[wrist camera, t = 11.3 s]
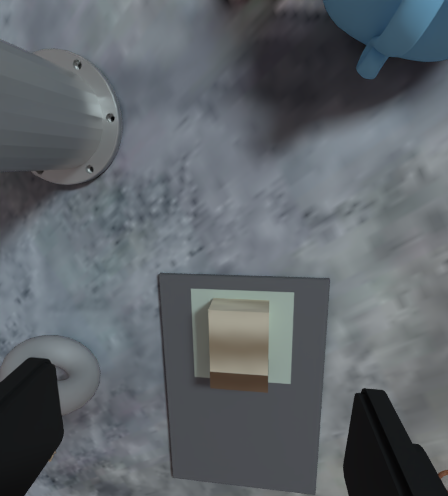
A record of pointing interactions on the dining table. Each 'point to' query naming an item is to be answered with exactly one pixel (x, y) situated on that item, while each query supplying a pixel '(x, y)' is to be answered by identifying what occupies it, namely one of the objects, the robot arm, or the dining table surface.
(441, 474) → the key
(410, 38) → the decorative pot
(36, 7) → the dining table surface
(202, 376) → the mat
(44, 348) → the donut
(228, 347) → the wooden block
